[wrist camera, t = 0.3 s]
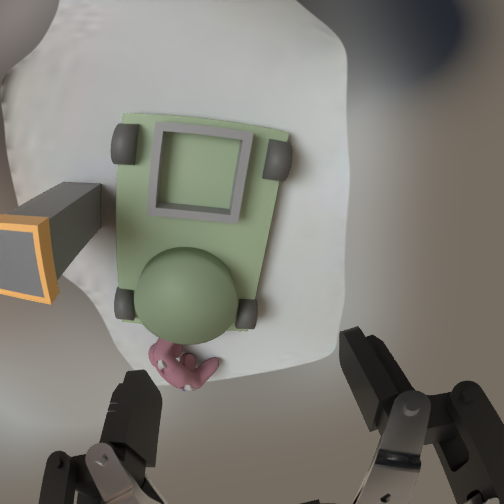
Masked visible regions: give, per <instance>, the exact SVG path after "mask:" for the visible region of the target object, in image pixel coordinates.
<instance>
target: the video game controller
mask: <svg viewBox="0 0 504 504" xmlns="http://www.w3.org/2000/svg"><path fill="white" fill-rule="evenodd" d="M181 354H182V345H181V344H176V343H172V342H169V341H166V340H163V339H161V338H159V339H158V340H157V342H156V343H155V344H153V345H152V346H151V347H150V349H149V359H150V362H151V364H152V365H153V366H155V368H156V369H157V371H158V372H159V374H160V375H161V376H162V377H163V378H164V379H165V380H166V381H167V382H168V383H170V384H171V385H172V386H174V387H176V388H179V389H182V390H183V391H194V390H196V389H198V388H200V387H201V386H202V385H203V384H204V383H205V382H206V381H207V380H208V379H209V377H210V376H211V375H212V374H213V373H214V372H215V371H216V369H217V367H218V365H219V360H218V359H217V358H215V357H214V358H210V359H208V360H207V361H205V362H204V363H202V364H201V365H200V366H199V367H198V368H196V359H195V357H194V356H193V355H191V354H183V355H182V356H181V357H180V362H179V361H178V360H176V358H178V357H179V356H180V355H181Z"/></svg>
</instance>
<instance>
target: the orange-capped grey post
mask: <svg viewBox="0 0 504 504" xmlns="http://www.w3.org/2000/svg"><path fill="white" fill-rule="evenodd" d="M100 228H101V184H100V183H74V182H62V183H60V184H58V185H57V186H55V187H53V188H51V189H49V190H47V191H45V192H43V193H42V194H40V195H38V196H36V197H34V198H33V199H31V200H29V201H27V202H26V203H24V204H22V205H21V206H19V207H17V208H16V209H14V210H13V211H11V212H9V213H8V214H0V294H5V295H9V296H13V297H17V298H22V299H27V300H31V301H36V302H42V303H46V304H52V303H53V301H54V300H55V298H56V297H57V295H58V294H59V288H58V283H57V280H58V279H59V278H60V276H61V275H62V274H63V272H64V271H65V270H66V268H67V267H68V266H69V265H70V263H71V262H72V261H73V260H74V258H75V257H76V256H77V255H78V253H79V252H80V251H81V250H82V249H83V247H84V246H85V245H86V244H87V243H88V241H89V240H90V239H91V238H92V237H93V236H94V235H95V233H96V232H97V231H98V230H99V229H100Z"/></svg>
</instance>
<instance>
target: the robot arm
mask: <svg viewBox="0 0 504 504" xmlns="http://www.w3.org/2000/svg"><path fill="white" fill-rule="evenodd" d="M339 335H340V336H339V338H340V339H339V359H340V365H341V368H342V370H343V373H344V375H345V377H346V379H347V382H348V384H349V386H350V388H351V390H352V393H353V395H354V397H355V399H356V401H357V404H358V406H359V408H360V411H361V413H362V415H363V417H364V420H365V422H366V424H367V426H368V429H369V431H370V432H371V431H374V430H377V429H378V431H379V433H380V435H381V437H380V440H379V443H378V445H377V448H376V451H375V454H374V456H373V459H372V461H371V464H370V466H369V469H368V471H367V474H366V476H365V478H364V480H363V482H362V484H361V486H360V489H359V491H358V493H357V495H356V497H355V499H354V501H353V503H352V504H409V502H410V499H411V497H412V494H413V491H414V488H415V485H416V482H417V479H418V476H419V472H420V469H421V461H420V455H421V452H422V448H423V445H427V444H432V443H433V445H434V448H435V450H436V452H437V454H438V457H439V459H440V461H441V464H442V466H443V468H444V471H445V474H446V476H447V479H448V481H449V484H450V486H451V489H452V492H453V494H454V497H455V499H456V502H457V504H504V424H503V423H502V421H501V419H500V418H499V416H498V414H497V412H496V411H495V409H494V407H493V406H492V404H491V402H490V401H489V399H488V398H487V396H486V395H485V393H484V391H483V390H482V389H481V387H480V386H479V385H478V384H477V383H475V382H473V381H463V382H460V383H458V384H457V385H456V386H455V387H454V388H453V390H452V392H448V393H443V394H438V395H425V394H424V393H422V392H420V391H416V390H415V389H414V388H413V387H412V386H411V384H410V382H409V381H408V379H407V378H406V376H405V375H404V373H403V371H402V370H401V368H400V367H399V365H398V364H397V362H396V361H395V360H394V357H393V356H392V354H391V353H390V352H389V350H388V349H387V347H386V345H385V344H384V342H383V341H382V340H380V339H379V338H377V337H376V336H374V335H370V336H367V337H365V335H364V334H363V332H362V331H361V329H360V328H359V327H358V326H357V327H354V328H351V329H347V330H344V331H340V334H339ZM161 410H162V397H161V394H160V391H159V390H158V388H157V387H156V385H155V384H154V382H153V381H152V379H151V378H150V376H149V375H148V373H147V372H146V371H145V370H134V371H128V372H126V375H125V378H124V381H123V383H121V384H119V385H118V386H117V388H116V389H115V390H114V392H113V394H112V397H111V401H110V405H109V408H108V413H107V415H106V419H105V423H104V427H103V431H102V435H101V439H100V442H99V443H97V444H94V445H92V446H91V447H90V448H89V449H88V451H87V453H86V454H84V455H79V456H74V457H70V456H69V455H67V454H66V453H65V452H63V451H55V452H54V453H52V454H51V455H50V456H49V458H48V459H47V463H46V468H45V472H44V477H43V482H42V487H41V493H40V499H39V504H73V503H74V495H75V491H77V492H78V497H77V504H168V503H167V501H166V500H165V499H164V498H163V496H162V495H161V494H160V492H159V491H158V490H157V488H156V487H155V486H154V484H153V483H152V482H151V480H150V479H149V477H148V476H147V475H146V474H145V468H146V467H155V463H156V453H157V443H158V434H159V426H160V418H161ZM302 504H334V503H320V502H319V500H314V501H310V502H306V503H302Z"/></svg>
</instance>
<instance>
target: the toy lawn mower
mask: <svg viewBox="0 0 504 504" xmlns="http://www.w3.org/2000/svg"><path fill="white" fill-rule="evenodd" d="M288 135H289V132H285V131H280V130H275V129H270V128H265V127H259V126H254V125H248V124H242V123H235V122H228V121H221V120H213V119H204V118H195V117H184V116H172V115H156V114H128V113H123V118H122V124H118V125H117V126H116V128H115V130H114V133H113V137H112V142H111V159H112V162H113V163H114V164H118V169H117V189H116V251H117V271H118V285H119V286H118V287H117V290H116V294H115V301H114V311H115V316H116V318H117V319H122V322H130V323H138V324H143V325H144V326H145V327H146V328H147V329H148V330H149V331H150V332H151V333H153V334H154V335H156V336H157V337H159V338H161V339H163V340H166V341H169V342H172V343H176V344H183V345H193V344H200V343H204V342H208V341H210V340H213V339H215V338H217V337H218V336H220V335H221V334H223V333H224V332H225V331H226V330H228V331H248V329H254V328H255V326H256V322H257V300H256V298H255V296H256V291H257V287H258V282H259V277H260V272H261V268H262V263H263V258H264V254H265V249H266V244H267V239H268V235H269V230H270V225H271V220H272V215H273V210H274V205H275V201H276V196H277V191H278V186H279V181H281V182H284V181H285V180H286V178H287V176H288V174H289V171H290V168H291V163H292V146H291V143H289V142H287V141H288Z"/></svg>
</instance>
